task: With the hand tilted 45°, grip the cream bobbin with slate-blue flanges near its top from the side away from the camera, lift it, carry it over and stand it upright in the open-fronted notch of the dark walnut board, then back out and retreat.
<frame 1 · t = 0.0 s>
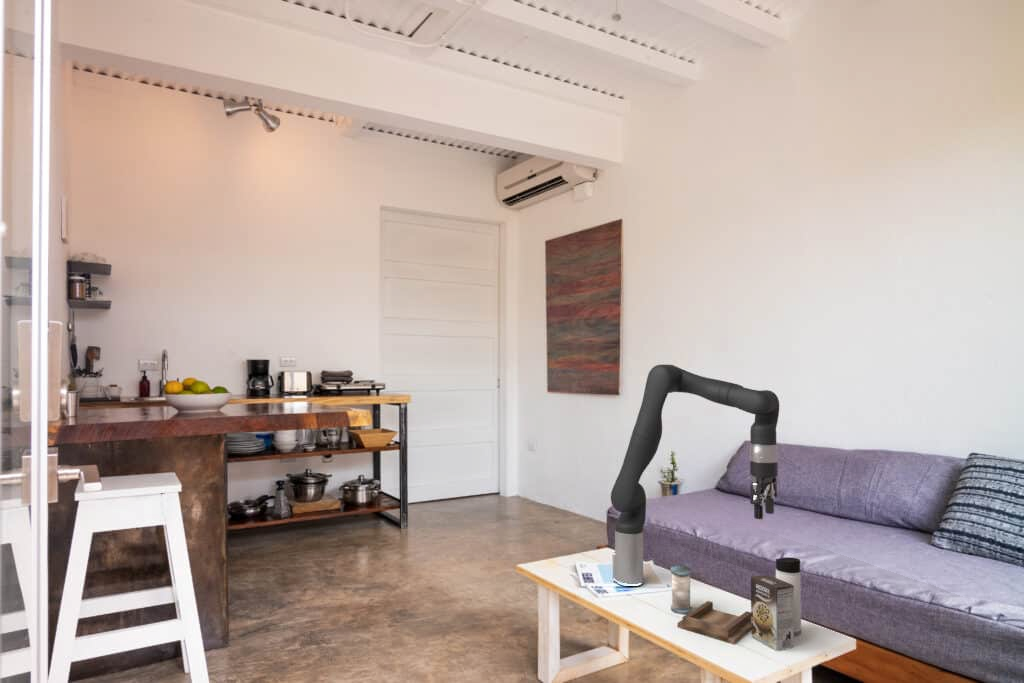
hand: (764, 516, 184), 29 cm above the table, tool pointing down, fingers open, 8 cm apart
travel mug: (789, 632, 174), on the table
wooden bobbin: (681, 610, 189), on the table
coffee box: (772, 643, 167), on the table
notched board: (717, 626, 177), on the table
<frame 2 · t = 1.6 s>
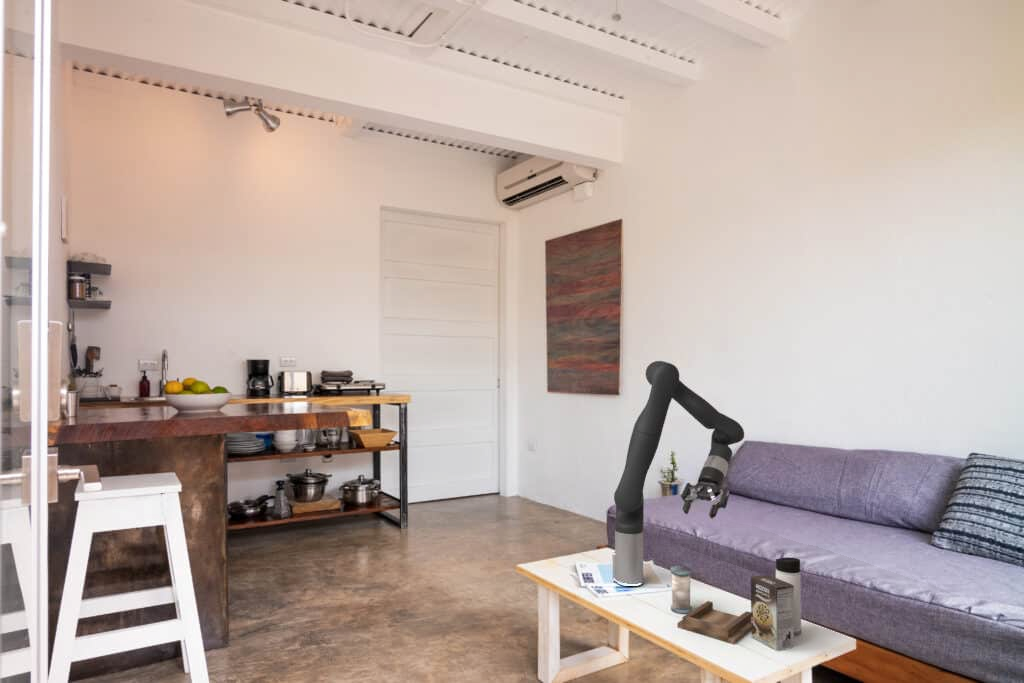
hand: (698, 514, 199), 26 cm above the table, tool tilted 45°, fingers open, 8 cm apart
nothing on the table moved.
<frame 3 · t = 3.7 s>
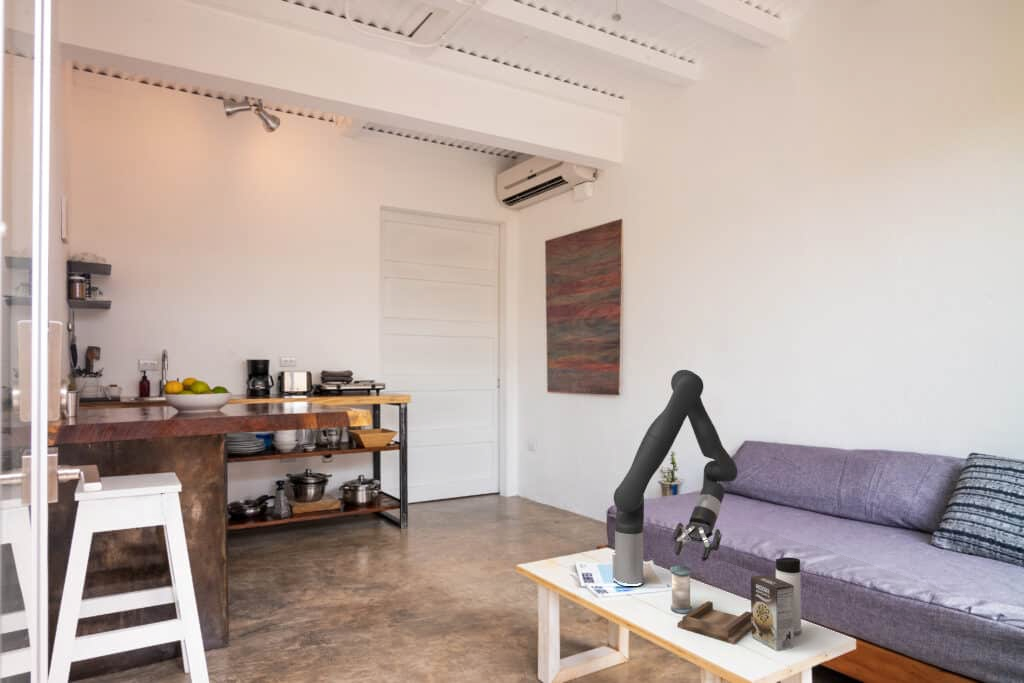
hand: (689, 557, 194), 14 cm above the table, tool tilted 45°, fingers open, 8 cm apart
nothing on the table moved.
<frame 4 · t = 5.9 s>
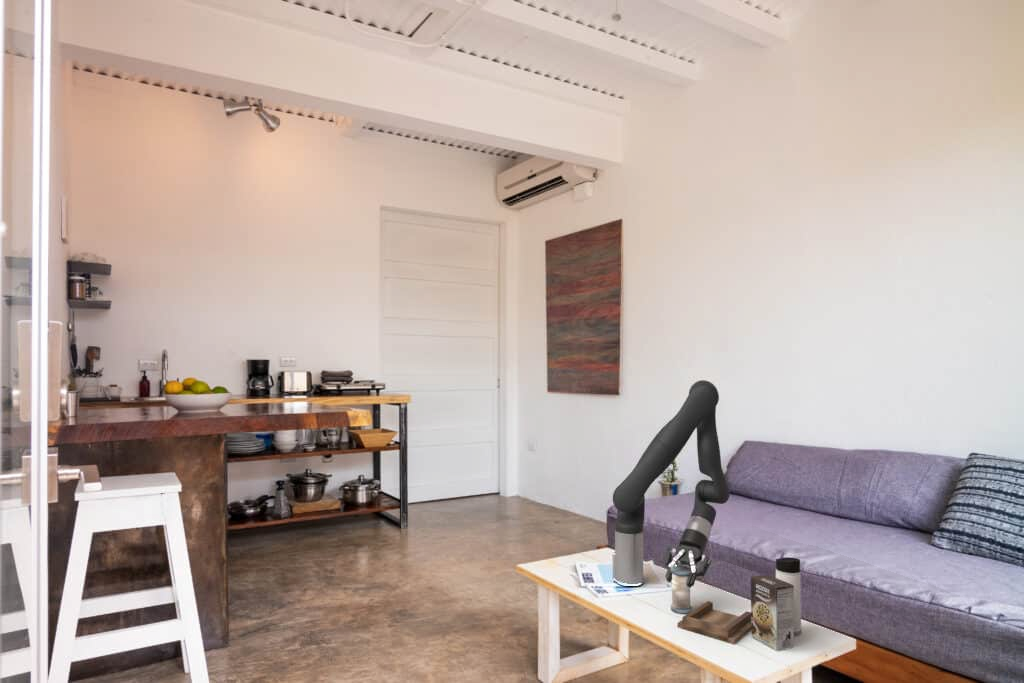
hand: (678, 583, 188), 8 cm above the table, tool tilted 45°, fingers closed on wooden bobbin, 6 cm apart
wooden bobbin: (681, 610, 189), on the table, touching gripper
everything else where it was.
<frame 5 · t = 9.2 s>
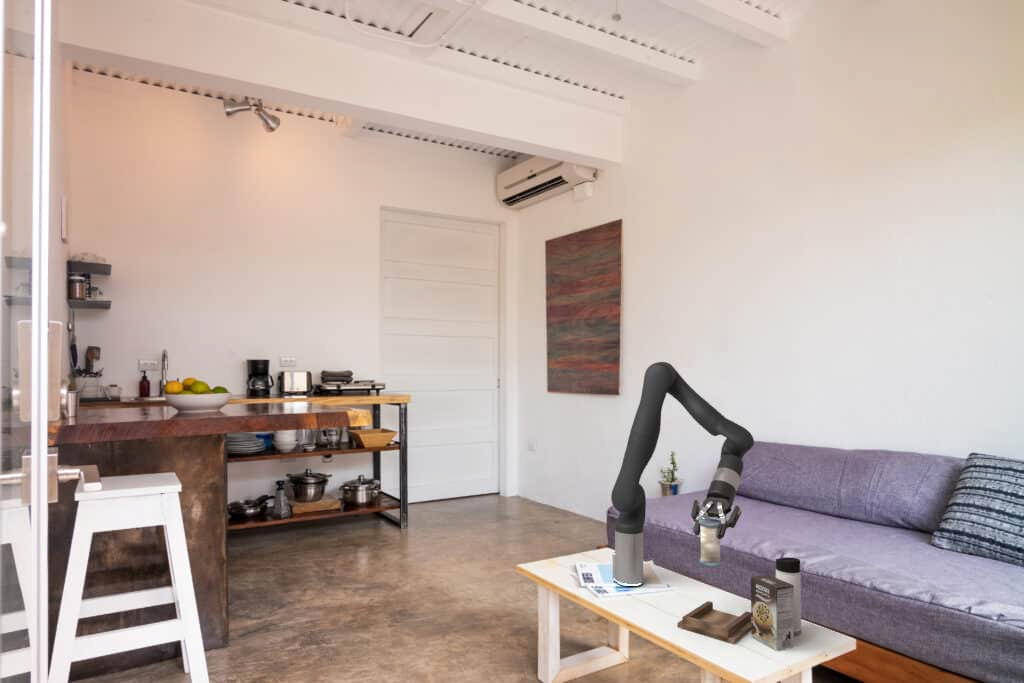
hand: (707, 535, 180), 25 cm above the table, tool tilted 45°, fingers closed on wooden bobbin, 6 cm apart
wooden bobbin: (710, 563, 180), point 16 cm above the table, touching gripper
everything else where it was.
when the fingers open (11 cm above the table, at t = 12.7 s): wooden bobbin drops 1 cm, resting on notched board.
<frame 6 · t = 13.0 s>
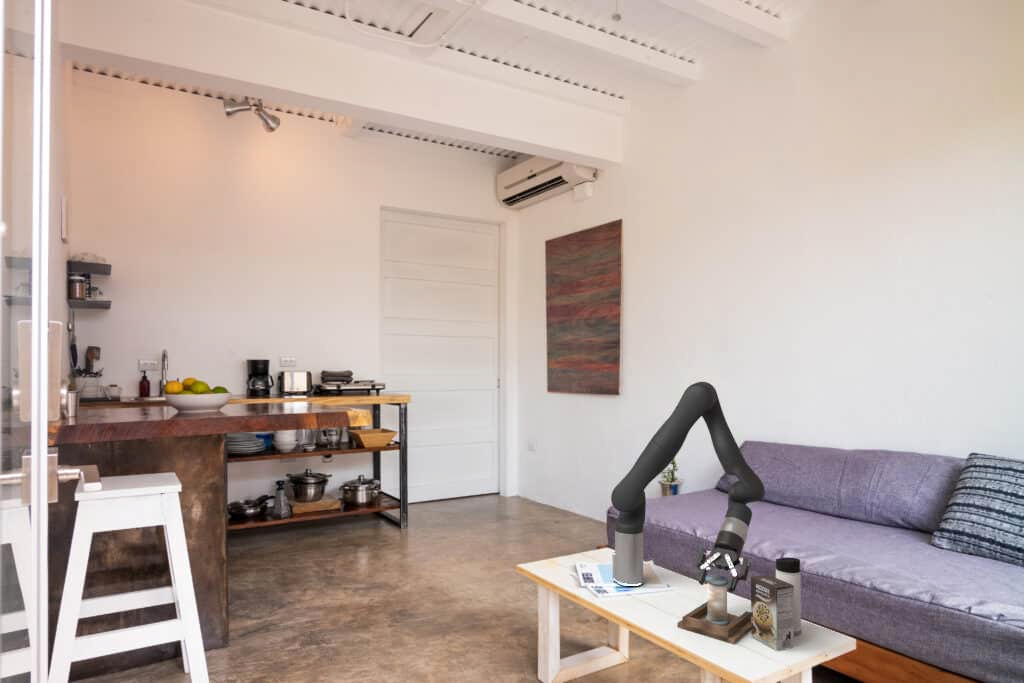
hand: (715, 587, 177), 11 cm above the table, tool tilted 45°, fingers open, 8 cm apart
wooden bobbin: (717, 621, 178), point 1 cm above the table, touching notched board
everything else where it was.
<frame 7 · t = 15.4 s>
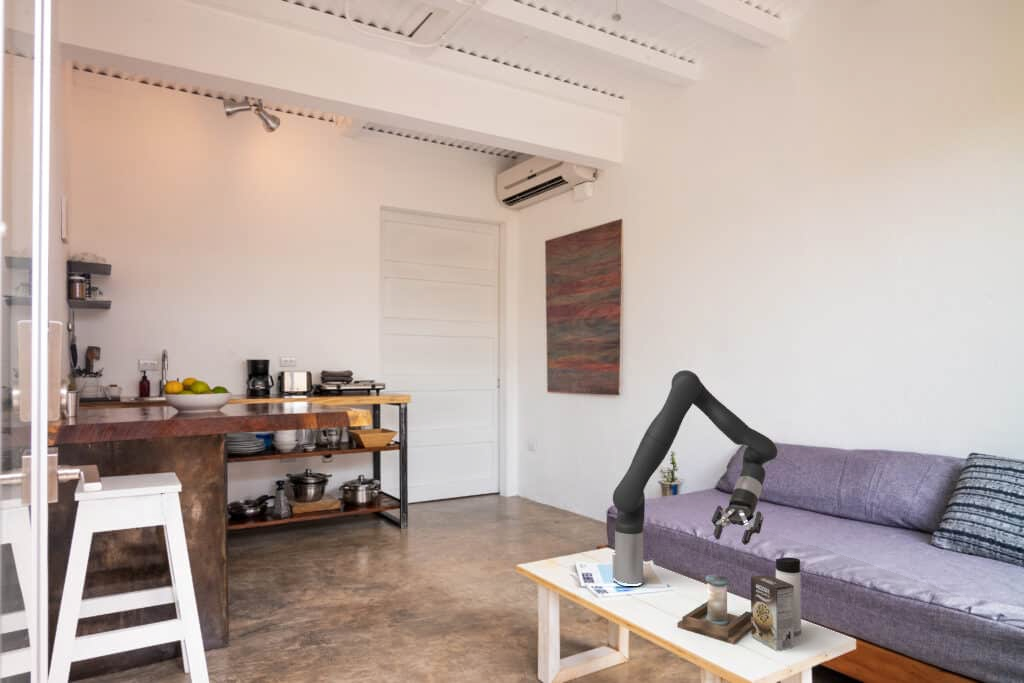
hand: (730, 540, 187), 21 cm above the table, tool tilted 45°, fingers open, 8 cm apart
nothing on the table moved.
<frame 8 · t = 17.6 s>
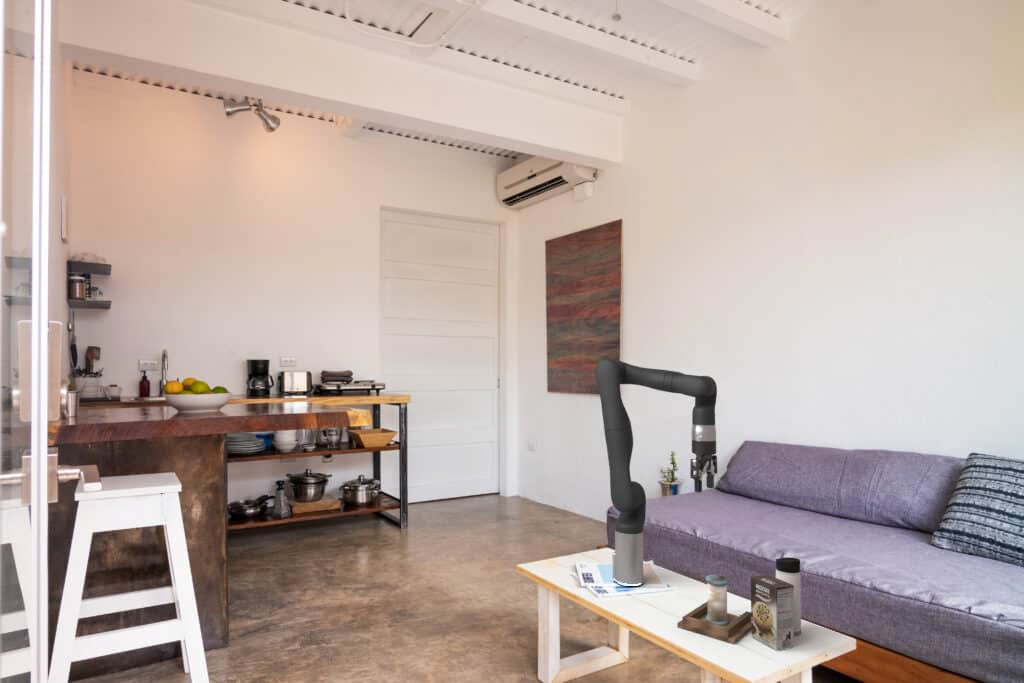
hand: (704, 490, 202), 33 cm above the table, tool pointing down, fingers open, 8 cm apart
nothing on the table moved.
at the end: wooden bobbin inside the target area on the notched board (0.1 cm from its centre), point 1.2 cm above the notched board's base; wooden bobbin tilted 0°; the gripper is holding nothing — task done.
